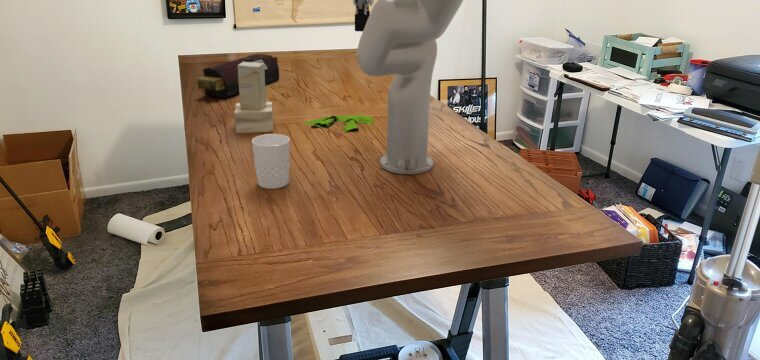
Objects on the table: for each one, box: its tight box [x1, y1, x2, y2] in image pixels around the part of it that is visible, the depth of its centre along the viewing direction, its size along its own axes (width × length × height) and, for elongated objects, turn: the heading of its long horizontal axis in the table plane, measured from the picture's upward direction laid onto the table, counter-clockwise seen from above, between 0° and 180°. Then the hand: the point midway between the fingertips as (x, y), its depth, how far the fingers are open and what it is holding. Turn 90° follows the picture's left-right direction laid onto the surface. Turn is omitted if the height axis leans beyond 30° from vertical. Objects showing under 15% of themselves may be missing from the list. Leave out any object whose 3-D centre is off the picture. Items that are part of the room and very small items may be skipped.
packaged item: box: [197, 53, 280, 98], centre depth 198 cm, size 39×10×10 cm, turn 155°
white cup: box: [251, 133, 291, 190], centre depth 121 cm, size 8×8×10 cm
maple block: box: [233, 101, 274, 134], centre depth 158 cm, size 10×10×6 cm
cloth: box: [302, 114, 376, 133], centre depth 162 cm, size 20×22×2 cm
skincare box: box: [238, 62, 267, 110], centre depth 154 cm, size 6×4×12 cm
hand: (362, 28), depth 145 cm, fingers open, 9 cm apart
